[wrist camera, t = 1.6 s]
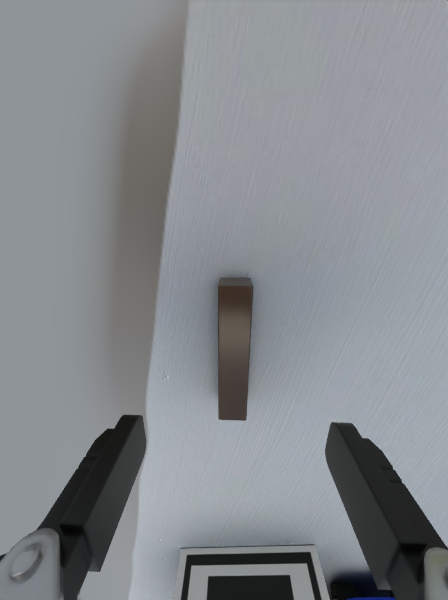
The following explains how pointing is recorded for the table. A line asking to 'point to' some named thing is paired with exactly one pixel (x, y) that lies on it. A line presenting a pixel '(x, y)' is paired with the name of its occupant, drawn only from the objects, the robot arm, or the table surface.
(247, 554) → the block
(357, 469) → the robot arm
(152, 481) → the table surface
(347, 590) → the toy car
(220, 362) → the stick
